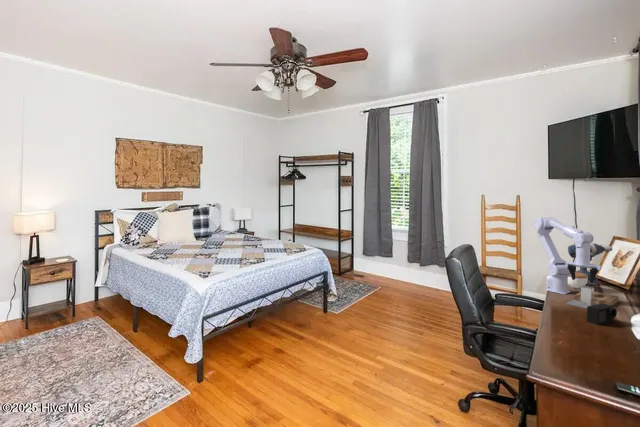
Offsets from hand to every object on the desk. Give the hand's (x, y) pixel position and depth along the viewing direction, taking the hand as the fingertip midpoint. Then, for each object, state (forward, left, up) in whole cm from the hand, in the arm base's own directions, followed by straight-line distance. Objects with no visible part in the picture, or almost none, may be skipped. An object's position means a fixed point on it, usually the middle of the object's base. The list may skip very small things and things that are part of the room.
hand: (582, 281), depth 167 cm
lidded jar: (-10, +24, -10) cm, 28 cm away
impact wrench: (-8, +38, -10) cm, 40 cm away
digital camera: (+16, -29, -10) cm, 34 cm away
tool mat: (+5, -9, -10) cm, 14 cm away
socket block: (+5, +4, -10) cm, 12 cm away
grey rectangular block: (+5, -9, -10) cm, 14 cm away
